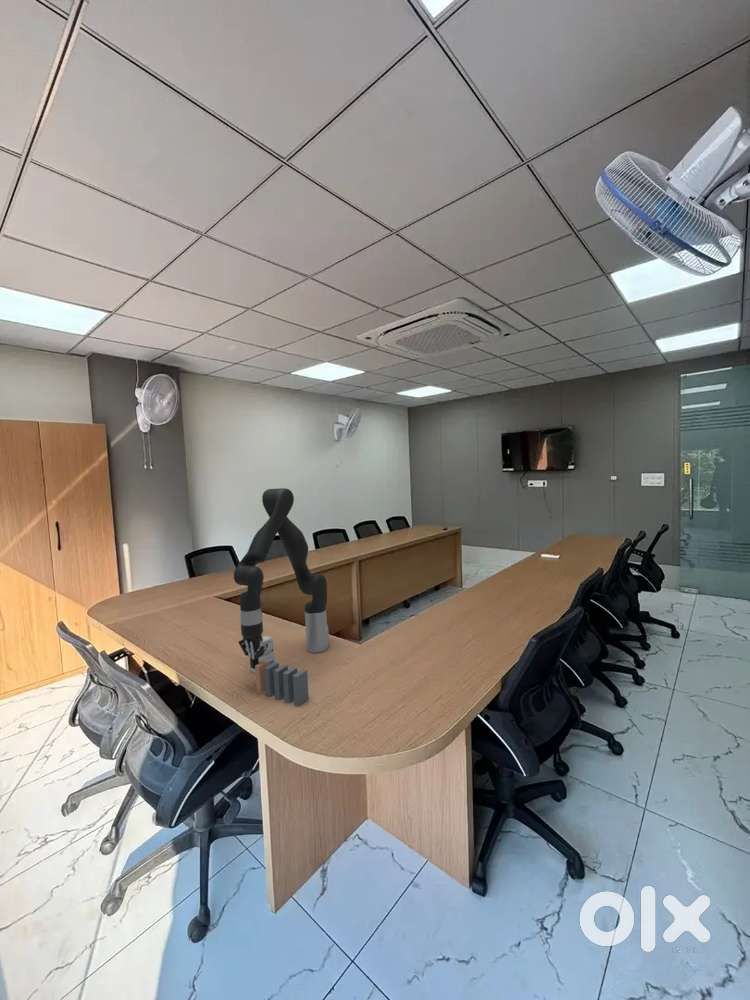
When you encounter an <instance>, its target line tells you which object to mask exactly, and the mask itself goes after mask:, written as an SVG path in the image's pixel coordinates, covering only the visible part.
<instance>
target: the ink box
mask: <svg viewBox="0 0 750 1000" xmlns="http://www.w3.org/2000/svg"><path fill="white" fill-rule="evenodd" d="M262 638H263V643H264V644H268V647H267V649H266V651H265V652H264V654H263V655H262V656H261V657H259V658H258V660H259V663H261V662H262V661H264V660H268V661H269V662H270V664H272V663H274V662H275V652H274V639H273V637H271V636H267V635H264V636H262ZM249 667H250V669H249V670H250V672H251V673H253V674H255V669H253V668H251V665H250V664H249Z"/></svg>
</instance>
